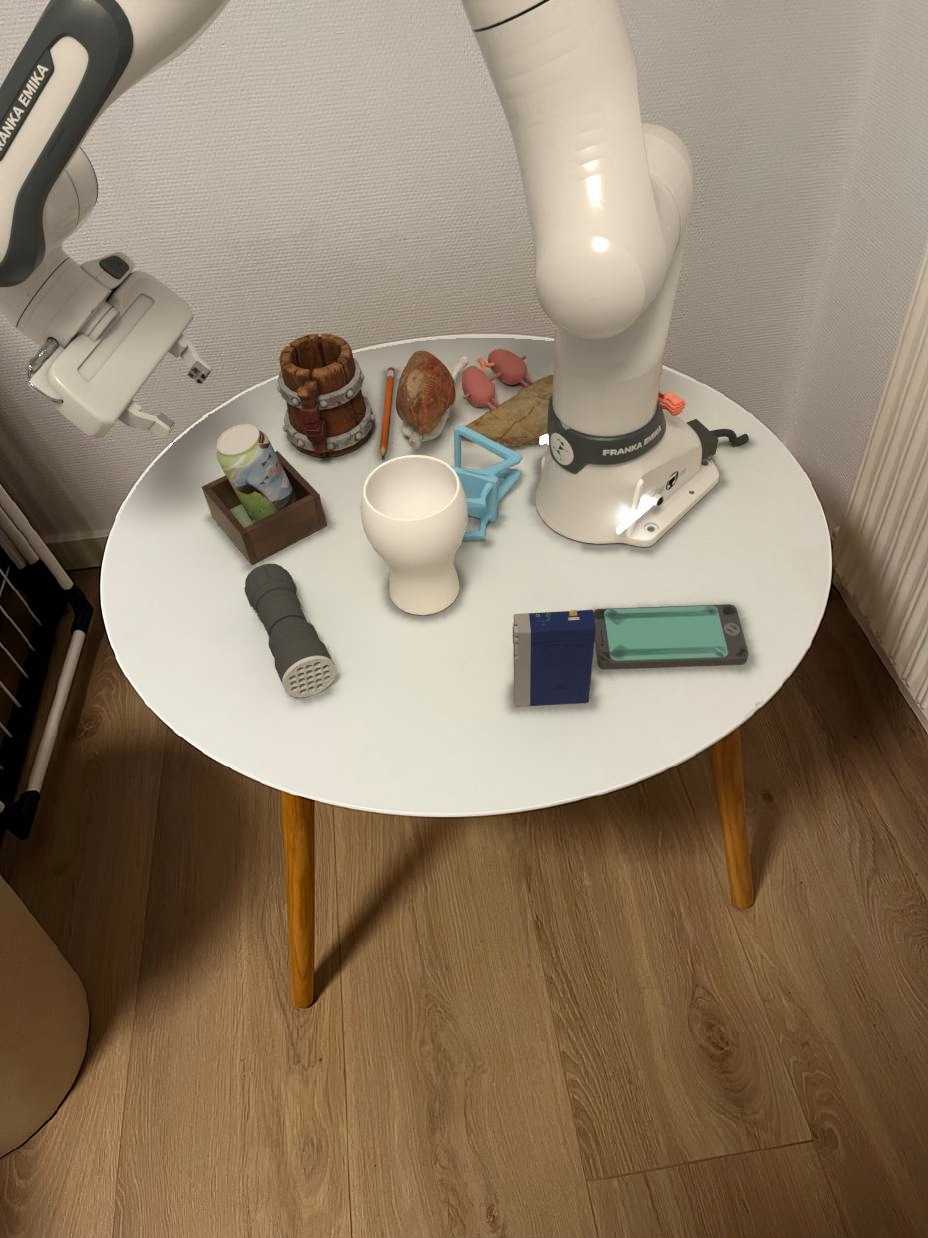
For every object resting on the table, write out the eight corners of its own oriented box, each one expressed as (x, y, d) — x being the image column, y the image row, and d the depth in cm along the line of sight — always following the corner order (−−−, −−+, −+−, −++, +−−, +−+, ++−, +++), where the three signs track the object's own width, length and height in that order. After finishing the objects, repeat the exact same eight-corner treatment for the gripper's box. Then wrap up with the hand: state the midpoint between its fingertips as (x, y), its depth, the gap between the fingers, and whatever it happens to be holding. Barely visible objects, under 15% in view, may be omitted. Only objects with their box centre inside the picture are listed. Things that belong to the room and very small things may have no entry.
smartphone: (750, 657, 90) (599, 662, 90) (747, 664, 91) (598, 669, 91) (735, 601, 94) (592, 606, 95) (733, 608, 95) (591, 613, 96)
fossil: (644, 398, 117) (642, 409, 118) (566, 359, 123) (565, 369, 124) (533, 475, 107) (533, 485, 108) (455, 427, 113) (456, 438, 115)
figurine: (468, 356, 120) (442, 434, 108) (471, 382, 123) (446, 461, 111) (417, 356, 122) (386, 434, 110) (421, 382, 125) (391, 460, 113)
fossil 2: (441, 343, 116) (485, 407, 116) (392, 383, 119) (435, 446, 119) (411, 334, 104) (460, 405, 104) (357, 379, 107) (405, 449, 107)
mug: (381, 395, 121) (364, 307, 108) (373, 480, 114) (354, 397, 101) (295, 397, 122) (268, 310, 109) (282, 481, 115) (251, 399, 102)
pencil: (388, 372, 125) (394, 372, 125) (378, 461, 113) (385, 461, 113) (387, 366, 125) (394, 366, 125) (378, 456, 113) (385, 456, 113)
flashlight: (246, 602, 100) (234, 568, 95) (292, 584, 101) (282, 551, 97) (289, 704, 90) (278, 672, 86) (340, 684, 92) (331, 651, 88)
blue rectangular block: (586, 683, 90) (593, 606, 81) (589, 703, 89) (597, 626, 79) (512, 687, 90) (511, 611, 81) (514, 707, 89) (513, 631, 80)
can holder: (285, 481, 112) (277, 450, 108) (327, 525, 107) (319, 494, 103) (212, 517, 108) (201, 486, 105) (251, 565, 103) (241, 534, 99)
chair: (520, 488, 110) (488, 558, 103) (456, 472, 111) (420, 539, 104) (524, 439, 103) (490, 510, 97) (456, 423, 105) (418, 491, 98)
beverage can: (304, 525, 106) (283, 445, 97) (242, 540, 105) (215, 460, 95) (295, 490, 110) (274, 410, 100) (235, 505, 109) (208, 425, 99)
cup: (456, 634, 95) (446, 533, 83) (362, 615, 97) (340, 514, 86) (484, 562, 101) (479, 459, 90) (395, 546, 104) (379, 443, 92)
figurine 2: (538, 385, 124) (504, 347, 124) (547, 371, 121) (512, 332, 121) (477, 428, 119) (442, 388, 119) (485, 414, 116) (449, 373, 116)
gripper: (25, 357, 82) (158, 453, 87) (129, 242, 94) (239, 333, 100) (5, 393, 86) (132, 482, 92) (107, 279, 98) (213, 364, 104)
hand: (189, 403), depth 96 cm, fingers open, 8 cm apart
